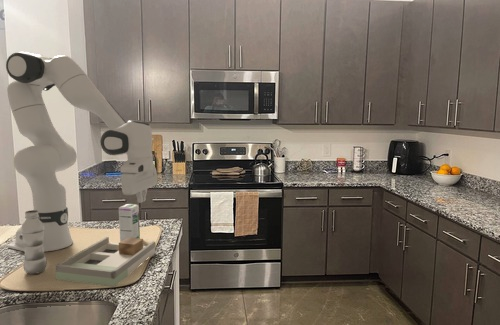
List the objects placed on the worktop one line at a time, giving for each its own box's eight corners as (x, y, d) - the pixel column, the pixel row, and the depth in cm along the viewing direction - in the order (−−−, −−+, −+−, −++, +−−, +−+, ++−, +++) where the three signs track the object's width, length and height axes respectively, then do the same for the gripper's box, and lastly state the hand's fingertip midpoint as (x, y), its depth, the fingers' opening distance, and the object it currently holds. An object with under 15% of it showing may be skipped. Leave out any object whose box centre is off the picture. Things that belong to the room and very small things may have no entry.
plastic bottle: (31, 278, 116) (26, 215, 113) (19, 273, 119) (15, 212, 117) (51, 270, 121) (47, 211, 118) (39, 266, 125) (36, 207, 122)
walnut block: (119, 254, 130) (118, 243, 129) (128, 247, 136) (127, 237, 135) (134, 255, 129) (134, 244, 128) (143, 249, 134) (143, 238, 134)
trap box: (56, 279, 115) (55, 265, 115) (106, 248, 142) (106, 236, 141) (114, 286, 111) (114, 272, 111) (155, 253, 138) (155, 241, 137)
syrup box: (133, 243, 147) (132, 207, 145) (119, 242, 148) (118, 206, 146) (140, 238, 153) (139, 204, 151) (126, 237, 154) (125, 203, 152)
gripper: (146, 160, 146) (146, 195, 148) (117, 168, 127) (118, 208, 128) (161, 161, 145) (161, 196, 147) (134, 169, 125) (135, 209, 127)
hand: (141, 201), depth 138 cm, fingers closed
